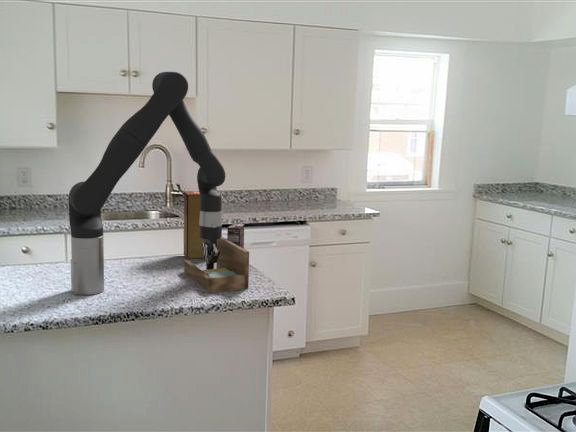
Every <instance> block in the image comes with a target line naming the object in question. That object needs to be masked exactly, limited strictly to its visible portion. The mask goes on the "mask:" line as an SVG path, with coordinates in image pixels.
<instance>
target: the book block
mask: <svg viewBox="0 0 576 432" xmlns="http://www.w3.org/2000/svg"><path fill="white" fill-rule="evenodd" d="M206 274H207V275H208V276H209V277H216V276H227V275H237V274H236V273H235V272H233V271H227V272H213V273H206Z"/></svg>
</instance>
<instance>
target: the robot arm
mask: <svg viewBox="0 0 576 432" xmlns="http://www.w3.org/2000/svg"><path fill="white" fill-rule="evenodd" d="M151 85H152V86H151V87H152V95H151V97H150V98H149V99H148V101H147V102H146V103H145V104H144V105H143V106H142V107H141V108H140V109H139V110H137V111H136V112H135V113H134V114H133V115H131V116H130V117H129V118H128V119H127V120H126V121H125V122H124V123H122V125H121V127H120V128H119V129H118V130H117V131H116V133H114V136H113V137H112V139H111V140H110V141H109V143H108V144H107V146H106V149H105V151H104V153H103V155H102V158H101V160H100V162H99V164H97V167H96V168H95V170H93V172H92V173H91V174H90V176H89V177H87V179H86V180H84V181H80V182H77V183H76V184H74V185H73V186H71V189H70V191H69V193H68V220H69V228H70V241H71V242H70V247H71V249H70V254H71V255H70V256H71V259H70V283H71V286H70V287H71V289H70V290H71V292H72V294H73V295H74V296H75V295H80V296H83V295H84V296H88V295H89V296H91V295H96V294H101V293H102V292H104V291H105V260H104V259H105V256H104V250H105V248H104V247H105V246H104V226H103V220H102V211H101V210H102V208H103V207H104V206H105V203H106V202H107V200H108V199H109V197H110V195H111V193H112V192H113V190H114V189H115V187H116V185H117V184H118V182H119V181H120V180H121V179H122V177H123V176H124V175H125V174H126V173H127V172H128V171H129V169H130V168H131V166H132V165H133V164H134V163H135V162H136V160H137V159H138V158H139V157H140V155H141V154H142V153H143V151H144V150H145V148H146V147H148V144H150V141H151V140H152V139H153V137H154V136H155V134H156V133H157V132H158V130H159V129H160V128H161V126H162V124H163V123H164V121H165V120H166V119H167V118H168V116H169V117H170V119H171V121H172V122H173V124H174V126H175V128H176V129H177V132H178V133H179V135H180V137H181V140H182V142H183V144H184V145H185V148H186V150H187V152H188V154H189V156H190V158H191V160H192V161H193V162H194V163H195V164H197V165H198V166H199V168H198V170H197V173H196V180H197V181H196V182H197V187H198V191H199V193H200V197H201V201H200V218H199V237H200V238H202V239H204V243H203V244H201V248H202V252H203V257H204V258H203V260H204V261H205V264H206V265H205V266H206V267H205V270H209V269H215V264H217V260H218V257H219V254H220V251H219V250H217V249H218V244H217V239H220V238H221V237H223V233H222V232H223V213H222V203H223V202H222V201H223V200H222V194H221V193H220V192H218V188H217V187H220V186H222V185H223V184H224V182H225V180H226V172H225V171H226V170H225V168H224V166H223V165H222V163H221V162H220V160H219V158H218V157H217V156H216V155H215V153H214V152H213V151H212V149H211V146H210V144H209V142H208V140H207V138H206V135H205V133H204V132H203V130H202V129H201V127H200V125H199V124H198V123H197V121H196V120H195V119H194V117H193V116H192V114H191V113H190V111H189V109H188V107H187V105H186V103H185V101H184V99H185V98H186V96H187V95H188V92H189V82H188V79H187V77H185V75H184V74H182V73H181V72H177V71H161V72H158V73H157V74H156V75H155V77H154V78H153V80H152V83H151ZM219 193H220V194H221V195H220V194H219Z"/></svg>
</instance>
